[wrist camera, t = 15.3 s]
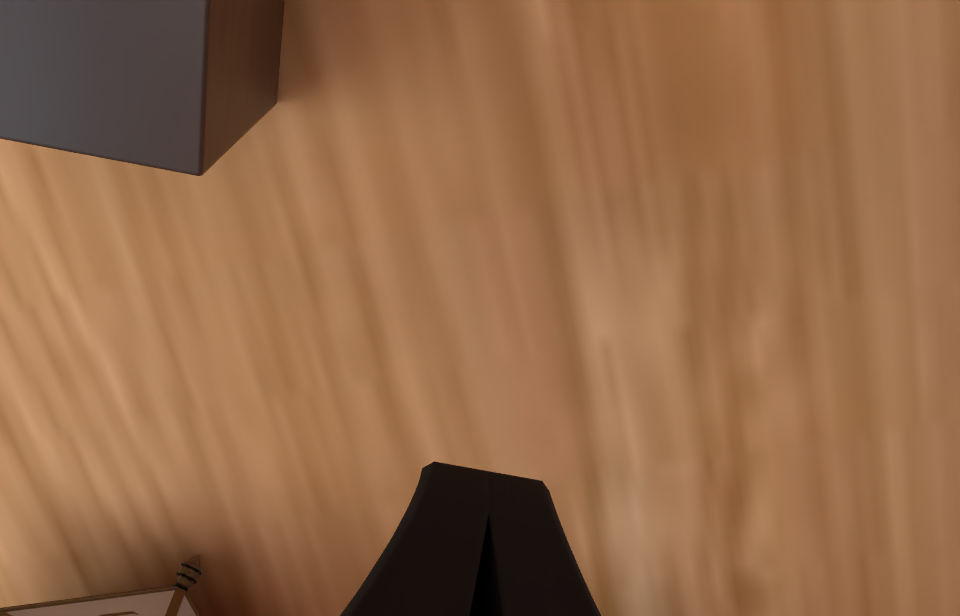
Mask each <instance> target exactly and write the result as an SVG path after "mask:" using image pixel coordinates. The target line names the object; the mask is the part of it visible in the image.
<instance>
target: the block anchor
mask: <svg viewBox="0 0 960 616" xmlns="http://www.w3.org/2000/svg"><path fill="white" fill-rule="evenodd" d="M283 10H284V0H0V139H6V140H11V141H16V142H21V143H27V144H32V145H37V146H43V147H48V148H53V149H59V150H64V151H69V152H75V153H80V154H85V155H90V156H96V157H101V158H106V159H112V160H117V161H122V162H128V163H133V164H138V165H143V166H149V167H154V168H159V169H165V170H170V171H175V172H181V173H186V174H191V175H197V176H201V175H203V174H204V173H205V172H206V171H207V170H208V169H209V168H210V167H211V166H212V165H213V164H214V163H215V162H216V161H217V160H218V159H220V158H221V157H222V156H223V155H224V154H225V153H226V152H227V151H228V150H229V149H230V148H231V147H232V146H233V145H234V144H235V143H236V142H237V141H238V140H239V139H240V138H241V137H242V136H243V135H245V134H246V133H247V132H248V131H249V130H250V129H251V128H252V127H253V126H254V125H255V124H256V123H257V122H258V121H259V120H260V119H261V118H262V117H263V116H264V115H265V114H266V113H267V112H268V111H270V110H271V109H272V108H273V107H274V106H275V104H276V99H277V86H278V74H279V61H280V48H281V35H282V23H283Z"/></svg>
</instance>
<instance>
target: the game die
mask: <svg viewBox="0 0 960 616" xmlns="http://www.w3.org/2000/svg"><path fill="white" fill-rule="evenodd" d="M181 566H182V568H181V570H180V572H177V575H178V578H177V582H176V584H175V585H174V586H167V587H160V588H152V589H144V590H136V591H129V592H121V593H113V594H105V595H97V596H90V597H82V598H74V599H66V600H58V601H51V602H43V603H35V604H27V605H19V606H12V607H4V608H0V616H200V615H199V613H198V611H197V609H196V608H195V606H194V604H193V602H192V601H191V599H190V597H189V595H188V594H187V591H188V588H189V587H190V586H191V585H192V584H193V583H195V584H196V582H197V581H196V579H197V577H198V575H201V574H202V573H201V571H200V555H198V556H196V557H195V558H193V559H191V560H190V561H188V562H186V563H185V564H183V563H182V564H181Z"/></svg>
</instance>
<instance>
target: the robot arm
mask: <svg viewBox="0 0 960 616" xmlns="http://www.w3.org/2000/svg"><path fill="white" fill-rule="evenodd" d="M340 616H601V614H600V612H599V610H598V608H597V606H596V604H595V602H594V600H593V598H592V596H591V594H590V592H589V589H588V587H587V585H586V583H585V581H584V578H583V576H582V574H581V572H580V569H579V567H578V565H577V562H576V560H575V558H574V555H573V553H572V551H571V548H570V546H569V544H568V541H567V539H566V536H565V533H564V531H563V528H562V526H561V523H560V521H559V518H558V515H557V512H556V510H555V507H554V504H553V501H552V498H551V495H550V492H549V490H548V489H547V487H546V486H545V484H544V483H543V482H542V481H540V480H534V479H529V478H523V477H517V476H512V475H506V474H501V473H495V472H489V471H484V470H478V469H472V468H467V467H461V466H456V465H450V464H444V463H439V462H433V463H431V464H429V465H427V466H426V467H424V468H422V472H421V476H420V480H419V483H418V486H417V488H416V491H415V493H414V496H413V498H412V500H411V502H410V504H409V507H408V509H407V511H406V513H405V515H404V517H403V518H402V520H401V522H400V524H399V526H398V527H397V529H396V531H395V533H394V535H393V537H392V538H391V540H390V542H389V543H388V545H387V547H386V548H385V550H384V551H383V553H382V554H381V556H380V558H379V559H378V561H377V562H376V564H375V565H374V567H373V569H372V570H371V572H370V573H369V575H368V577H367V578H366V580H365V581H364V583H363V584H362V586H361V587H360V589H359V590H358V592H357V593H356V595H355V596H354V597H353V599H352V600H351V602H350V603H349V604H348V606H347V607H346V608H345V610H344V611H343V612H342V614H341V615H340Z"/></svg>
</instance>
